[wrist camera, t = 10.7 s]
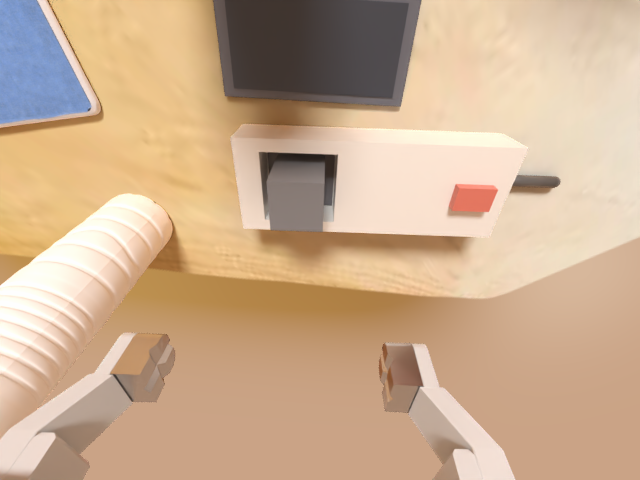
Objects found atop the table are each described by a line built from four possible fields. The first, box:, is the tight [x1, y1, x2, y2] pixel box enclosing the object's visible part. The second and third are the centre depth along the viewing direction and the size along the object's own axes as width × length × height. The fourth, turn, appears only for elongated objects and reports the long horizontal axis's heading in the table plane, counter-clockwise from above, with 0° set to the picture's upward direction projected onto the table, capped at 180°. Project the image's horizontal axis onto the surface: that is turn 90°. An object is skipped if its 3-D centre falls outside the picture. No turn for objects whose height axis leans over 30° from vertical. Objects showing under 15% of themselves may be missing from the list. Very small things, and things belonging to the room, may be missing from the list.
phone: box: [213, 0, 421, 107], centre depth 22 cm, size 14×7×1 cm, turn 87°
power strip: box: [230, 124, 560, 238], centre depth 25 cm, size 28×8×5 cm, turn 88°
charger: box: [266, 153, 325, 232], centre depth 24 cm, size 4×4×6 cm
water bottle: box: [0, 194, 173, 439], centre depth 20 cm, size 9×6×25 cm
